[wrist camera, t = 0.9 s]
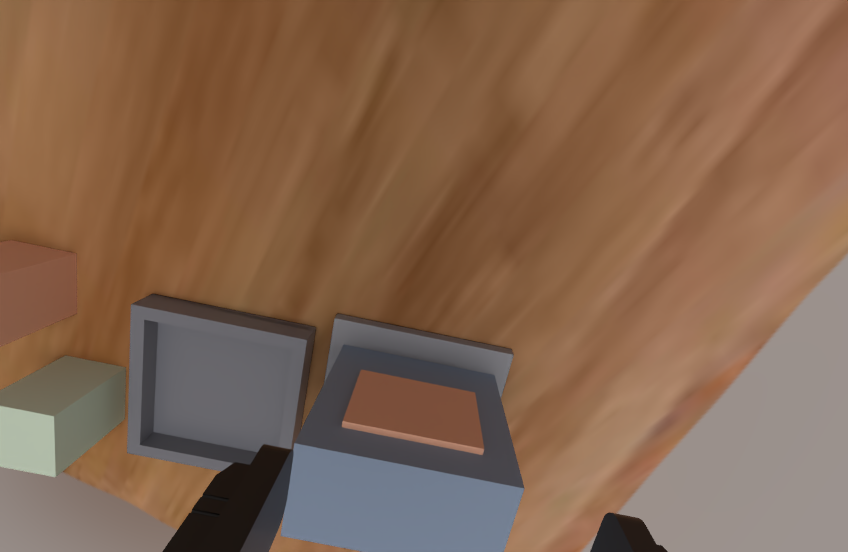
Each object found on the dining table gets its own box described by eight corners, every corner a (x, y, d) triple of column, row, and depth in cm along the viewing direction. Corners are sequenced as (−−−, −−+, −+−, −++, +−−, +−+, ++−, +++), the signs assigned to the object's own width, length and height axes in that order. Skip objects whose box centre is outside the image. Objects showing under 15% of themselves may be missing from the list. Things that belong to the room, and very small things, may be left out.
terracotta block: (11, 240, 33) (-97, 261, 26) (76, 253, 33) (-15, 278, 27) (14, 300, 34) (-88, 335, 28) (77, 313, 35) (-10, 351, 28)
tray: (152, 293, 34) (131, 304, 32) (316, 327, 34) (306, 340, 32) (147, 433, 37) (127, 453, 35) (295, 462, 38) (285, 483, 35)
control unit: (337, 313, 34) (279, 405, 21) (511, 349, 34) (554, 460, 22) (319, 422, 37) (258, 560, 24) (481, 454, 37) (503, 606, 24)
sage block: (65, 355, 36) (-21, 401, 29) (126, 367, 36) (53, 416, 29) (66, 407, 37) (-17, 463, 30) (124, 418, 37) (55, 477, 30)
